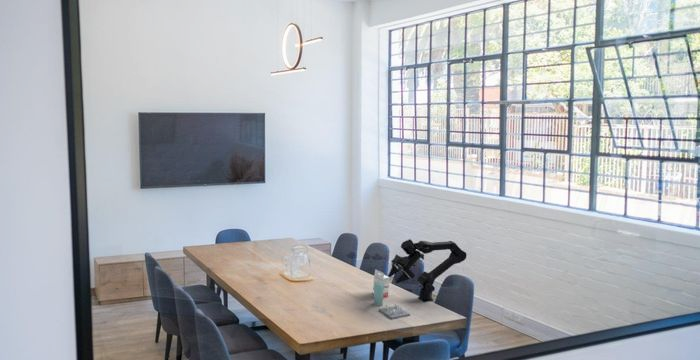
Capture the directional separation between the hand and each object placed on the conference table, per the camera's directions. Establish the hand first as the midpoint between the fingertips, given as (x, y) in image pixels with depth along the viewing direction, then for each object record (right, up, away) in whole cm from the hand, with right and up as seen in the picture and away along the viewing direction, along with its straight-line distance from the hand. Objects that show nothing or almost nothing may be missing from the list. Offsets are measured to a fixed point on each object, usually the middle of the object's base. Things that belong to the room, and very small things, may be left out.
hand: (392, 279), depth 343 cm
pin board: (+1, -16, -10) cm, 19 cm away
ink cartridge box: (-6, -11, +14) cm, 19 cm away
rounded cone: (-8, -14, 0) cm, 16 cm away
